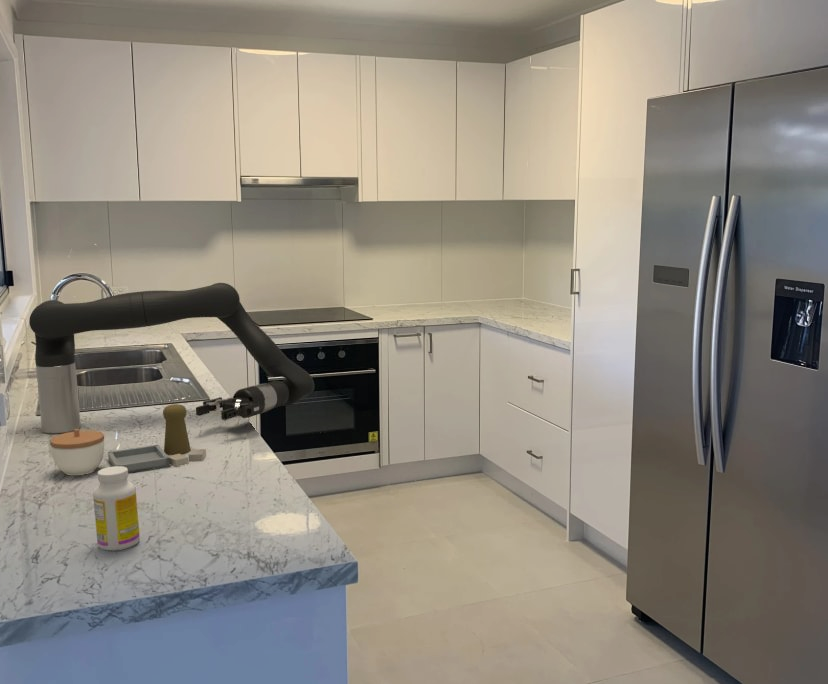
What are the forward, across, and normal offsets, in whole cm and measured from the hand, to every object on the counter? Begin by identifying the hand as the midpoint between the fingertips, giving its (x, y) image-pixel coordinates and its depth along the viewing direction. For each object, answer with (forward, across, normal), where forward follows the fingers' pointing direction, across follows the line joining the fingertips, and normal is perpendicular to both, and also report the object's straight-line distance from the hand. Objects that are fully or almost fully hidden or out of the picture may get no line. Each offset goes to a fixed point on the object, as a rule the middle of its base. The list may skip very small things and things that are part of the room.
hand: (209, 413), depth 195 cm
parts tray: (+22, 0, +6) cm, 22 cm away
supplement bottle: (+53, +32, +7) cm, 62 cm away
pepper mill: (+11, 0, +7) cm, 13 cm away
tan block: (+17, +7, +7) cm, 20 cm away
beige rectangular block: (+12, +8, +7) cm, 16 cm away
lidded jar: (+31, -7, +7) cm, 33 cm away
